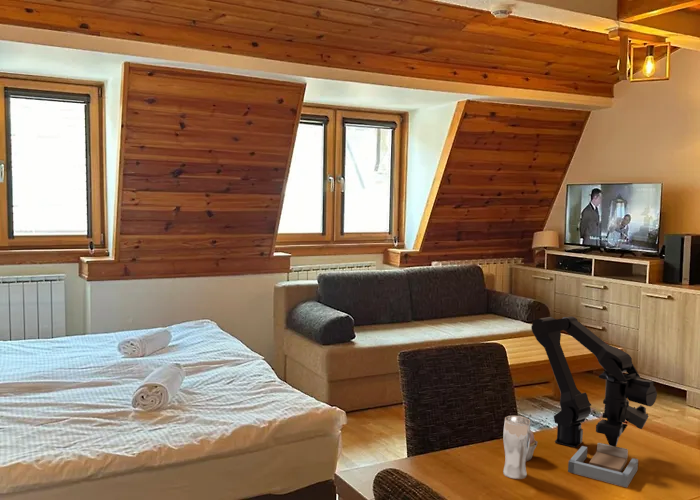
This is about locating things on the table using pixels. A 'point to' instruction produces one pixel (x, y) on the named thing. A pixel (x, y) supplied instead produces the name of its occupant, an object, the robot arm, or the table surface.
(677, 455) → the table surface
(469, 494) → the table surface
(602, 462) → the l-shaped bracket
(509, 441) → the beer glass
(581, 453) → the bay
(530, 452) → the cupcake
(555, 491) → the table surface
